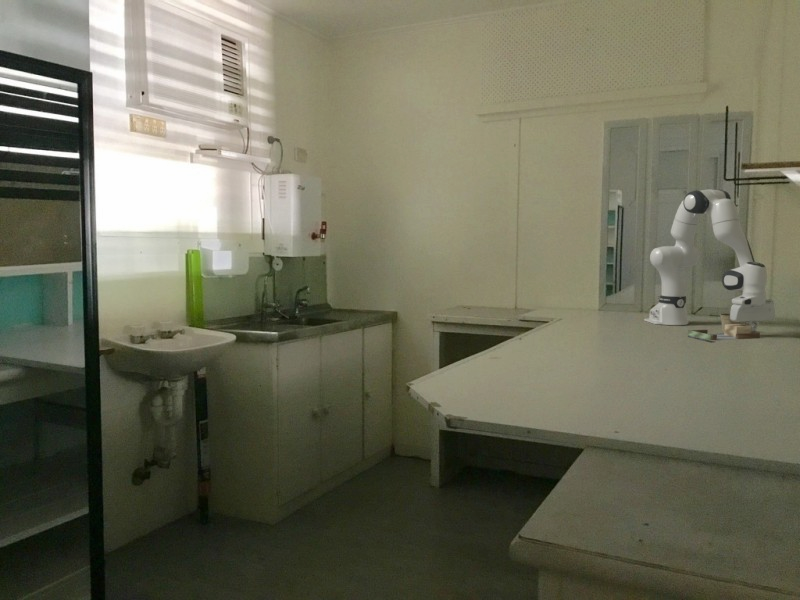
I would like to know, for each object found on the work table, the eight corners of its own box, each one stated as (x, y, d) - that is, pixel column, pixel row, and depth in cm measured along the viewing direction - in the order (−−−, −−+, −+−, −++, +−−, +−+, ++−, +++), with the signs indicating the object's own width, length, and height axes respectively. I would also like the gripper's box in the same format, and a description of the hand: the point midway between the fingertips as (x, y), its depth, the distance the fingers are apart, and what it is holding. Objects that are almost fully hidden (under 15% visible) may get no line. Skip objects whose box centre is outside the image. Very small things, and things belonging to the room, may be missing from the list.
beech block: (724, 334, 271) (724, 324, 271) (738, 334, 273) (738, 323, 272) (736, 337, 264) (736, 326, 264) (750, 336, 266) (750, 326, 265)
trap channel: (687, 337, 271) (688, 330, 271) (734, 335, 276) (735, 328, 276) (710, 342, 258) (710, 335, 257) (759, 340, 263) (759, 333, 262)
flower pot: (746, 335, 276) (747, 316, 275) (724, 335, 276) (725, 316, 275) (735, 332, 285) (736, 313, 284) (714, 332, 285) (715, 313, 284)
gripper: (768, 298, 274) (766, 329, 275) (728, 299, 269) (726, 331, 271) (779, 299, 268) (777, 331, 269) (739, 301, 263) (737, 333, 265)
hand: (751, 331), depth 270 cm, fingers closed
